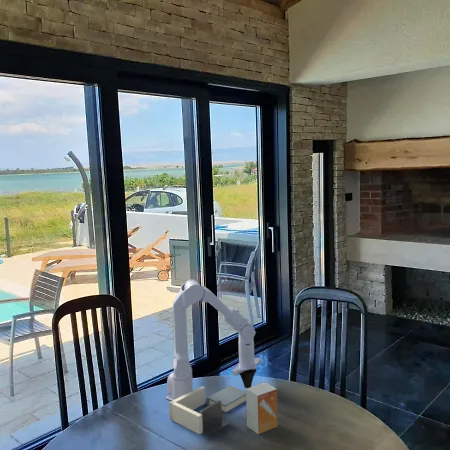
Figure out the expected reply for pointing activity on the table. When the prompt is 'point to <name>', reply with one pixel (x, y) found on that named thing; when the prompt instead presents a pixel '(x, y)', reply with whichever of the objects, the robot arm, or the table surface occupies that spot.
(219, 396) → the book
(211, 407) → the bookend
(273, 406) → the small box
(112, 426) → the table surface
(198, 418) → the cream corner tray
